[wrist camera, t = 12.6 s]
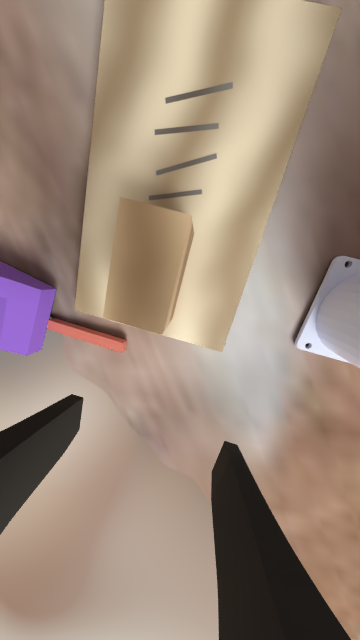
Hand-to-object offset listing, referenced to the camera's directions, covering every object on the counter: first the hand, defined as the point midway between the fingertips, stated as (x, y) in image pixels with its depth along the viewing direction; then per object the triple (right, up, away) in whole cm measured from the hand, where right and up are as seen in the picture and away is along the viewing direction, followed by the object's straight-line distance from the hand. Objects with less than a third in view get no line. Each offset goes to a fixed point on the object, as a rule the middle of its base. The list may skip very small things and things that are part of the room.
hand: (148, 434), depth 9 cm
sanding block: (0, +10, +6) cm, 11 cm away
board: (+1, +15, +6) cm, 16 cm away
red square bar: (-8, +4, +9) cm, 13 cm away
